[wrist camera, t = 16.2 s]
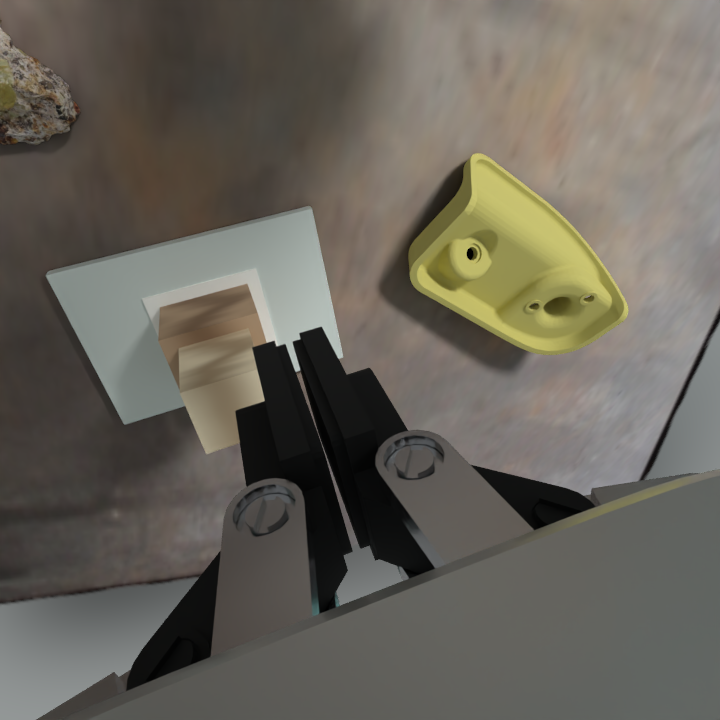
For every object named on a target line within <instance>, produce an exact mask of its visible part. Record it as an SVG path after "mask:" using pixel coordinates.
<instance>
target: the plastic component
mask: <svg viewBox="0 0 720 720" xmlns="http://www.w3.org/2000/svg"><path fill="white" fill-rule="evenodd" d="M469 248H471V249H472V250H473V253H474V255H473V258H472V259H471V260H469V259H468V258H467V250H468V249H469ZM408 259H409V271H410V280H411V282H412V284H413V286H414V287H415V288H416V289H417V290H418V291H419V292H421V293H423V294H425V295H426V296H428V297H430V298H432V299H433V300H435V301H437V302H439V303H441V304H442V305H444V306H446V307H448V308H449V309H451V310H453V311H455V312H456V313H458V314H460V315H462V316H463V317H465V318H467V319H469V320H470V321H472V322H474V323H476V324H478V325H479V326H481V327H483V328H485V329H486V330H488V331H490V332H492V333H493V334H495V335H497V336H499V337H500V338H502V339H504V340H506V341H508V342H510V343H512V344H513V345H515V346H517V347H520V348H522V349H524V350H527V351H529V352H533V353H536V354H543V355H557V354H563V353H568V352H572V351H575V350H577V349H580V348H582V347H584V346H586V345H588V344H590V343H592V342H593V341H595V340H596V339H598V338H599V337H601V336H602V335H604V334H605V333H607V332H608V331H610V330H611V329H613V328H614V327H616V326H617V325H619V324H620V323H621V322H623V321H624V320H625V319H626V317H627V314H628V305H627V303H626V301H625V299H624V297H623V295H622V293H621V292H620V290H619V288H618V287H617V285H616V283H615V282H614V280H613V278H612V277H611V275H610V274H609V272H608V271H607V269H606V268H605V266H604V265H603V263H602V262H601V261H600V259H599V258H598V257H597V255H596V254H595V253H594V251H593V250H592V249H591V247H590V246H589V245H588V244H587V242H586V241H585V240H584V239H583V238H582V236H581V235H580V234H579V233H578V232H577V231H576V229H575V228H574V227H573V226H572V225H571V224H570V223H569V222H568V221H567V220H566V219H565V218H564V217H563V216H562V215H561V214H560V213H559V212H558V211H557V210H555V209H554V208H553V207H552V206H551V205H550V204H549V203H548V202H546V201H545V200H544V199H542V198H541V197H540V196H538V195H537V194H536V193H535V192H533V191H532V190H531V189H529V188H528V187H527V186H525V185H524V184H523V183H522V182H520V181H519V180H518V179H516V178H515V177H514V176H512V175H511V174H510V173H509V172H507V171H506V170H505V169H503V168H502V167H501V166H499V165H498V164H497V163H496V162H494V161H493V160H492V159H490V158H489V157H487V156H485V155H483V154H479V153H477V154H474V155H472V156H471V157H470V159H469V160H468V161H467V162H466V163H465V165H464V168H463V182H462V185H461V187H460V189H459V191H458V192H457V194H456V195H455V197H454V198H453V199H452V200H451V201H450V202H449V203H448V205H447V206H446V207H445V208H444V209H443V210H442V211H441V212H440V213H439V214H438V215H437V216H436V217H435V218H434V220H433V221H432V222H431V223H430V224H429V225H428V226H427V227H426V228H425V229H424V230H423V231H422V232H421V234H420V235H419V236H418V237H417V238H416V239H415V240H414V241H413V243H412V244H411V246H410V249H409V253H408ZM589 295H591V296H590V297H588V298H585V297H586V296H589ZM534 303H536V305H533V306H530V305H531V304H534Z"/></svg>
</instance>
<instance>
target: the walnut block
mask: <svg viewBox="0 0 720 720" xmlns="http://www.w3.org/2000/svg"><path fill="white" fill-rule="evenodd" d="M247 328H249V331H250V334H251V338H252V341H253V344H254V347H255V346H258V345H261V344H265V343H267V342H266V339H265V335H264V332H263V329H262V325H261V322H260V319H259V315H258V312H257V309H256V307H255V304H254V301H253V298H252V295H251V292H250V290H249V287H248V284H244V285H240V286H237V287H233V288H229V289H226V290H222V291H218V292H215V293H211V294H207V295H204V296H200V297H196V298H193V299H189V300H185V301H182V302H178V303H174V304H171V305H167V306H163V307H160V316H159V336H158V342H159V344H160V346H161V348H162V351H163V353H164V355H165V358H166V360H167V362H168V365H169V367H170V369H171V372H172V374H173V376H174V379H175V381H176V383H177V385H178V388H179V390H180V383H179V348H182V347H185V346H189V345H192V344H195V343H199V342H202V341H206V340H209V339H213V338H216V337H220V336H223V335H226V334H230V333H233V332H237V331H240V330H244V329H247Z"/></svg>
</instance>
